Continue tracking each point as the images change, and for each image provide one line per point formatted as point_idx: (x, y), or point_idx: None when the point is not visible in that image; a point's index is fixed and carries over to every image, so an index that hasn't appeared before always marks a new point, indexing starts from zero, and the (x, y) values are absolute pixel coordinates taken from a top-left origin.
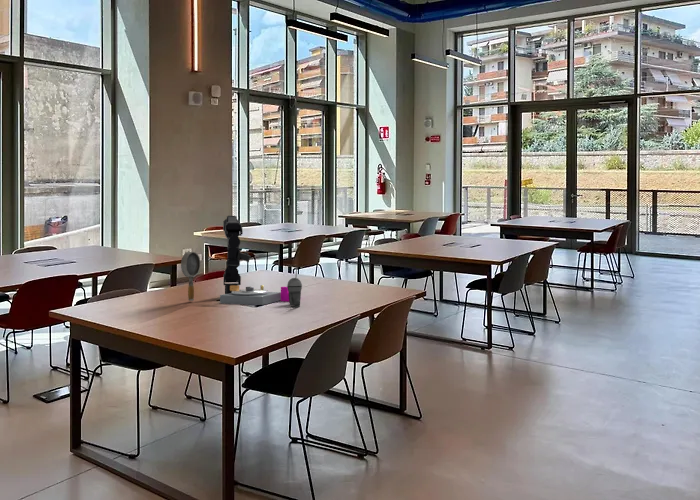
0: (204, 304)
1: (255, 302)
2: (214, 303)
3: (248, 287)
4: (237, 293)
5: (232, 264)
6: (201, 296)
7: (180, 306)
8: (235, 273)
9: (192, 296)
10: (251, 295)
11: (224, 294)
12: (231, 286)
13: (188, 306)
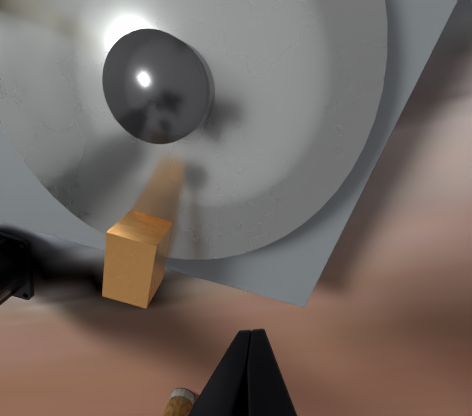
0: (355, 333)
1: None
2: None
3: (206, 97)
4: (333, 187)
5: None
6: (14, 378)
7: (433, 408)
8: (290, 406)
9: (185, 412)
10: None
11: (254, 287)
12: (152, 290)
13: (442, 382)
